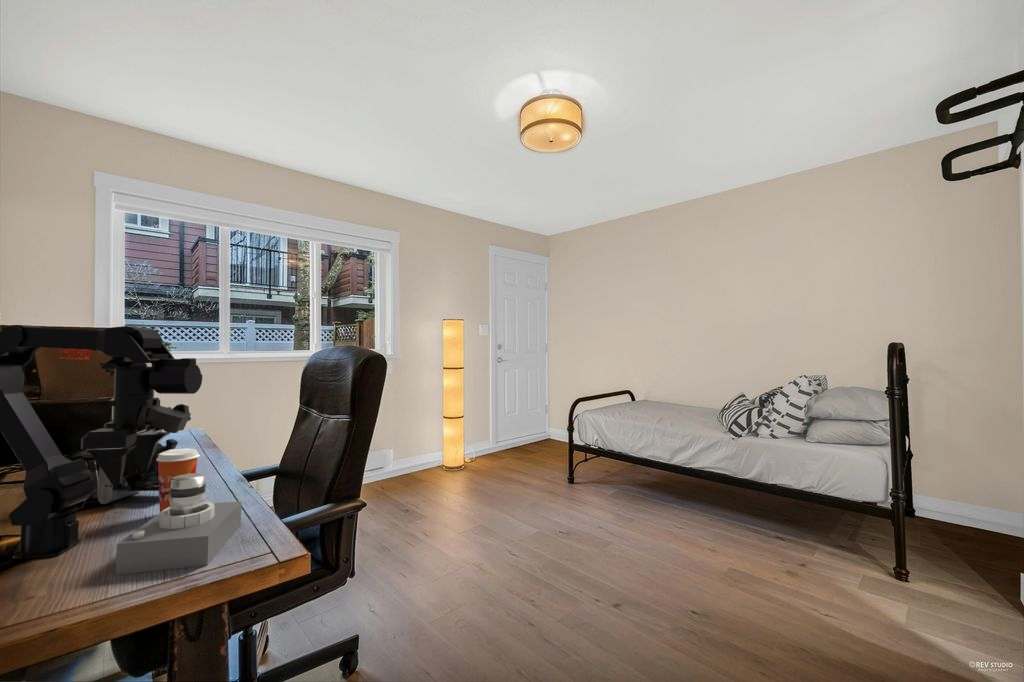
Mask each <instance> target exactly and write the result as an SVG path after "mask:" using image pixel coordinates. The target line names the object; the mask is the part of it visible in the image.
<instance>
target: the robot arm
mask: <svg viewBox="0 0 1024 682" xmlns="http://www.w3.org/2000/svg"><path fill="white" fill-rule="evenodd" d="M40 348H51V349H52V348H54V349H74V350H75V349H76V350H91V351H96V352H98V353H101V354H104V355H109V356H113V357H111V359H109V361H107V362H105V363H103V364H102V365H100V369H102V370H114V379H113V381H114V382H113V385H114V387H113V399H109V400H107V407H112V408H113V409H112V419H113V422H111V423H108V422H106V423H107V428H106V429H103V428H98V429H94V430H91V431H88V432H87V433H85V434H84V435H83V436H82V437H81V438H80V450H85V451H86V453H87V454H90V455H91V456H92V457H93V460H95V462H96V463H97V464H98V465H99V466H100V467H101V468H102V470H103V471H104V473H105V475H106V476H107V478H108V479H109V481H110V482H111V484H112V485H119V484H121V481H122V477H123V472H124V467H125V461H126V456H127V454H128V453H129V452H130V451H131V450H133V451H134V454H135V457H136V461H137V464H138V466H139V469H140V471H147V470H148V468H149V466H150V463H151V460H152V458H153V455H154V453H155V450H156V448H157V445H158V443H159V444H160V441H162V440H163V439H165V438H166V437H168V435H169V436H170V434H171V433H172V434H176V433H179V432H180V431H184V429H185V427H186V426H187V423H188V422H190V421H191V420H192V417H191V415H192V413H191V412H190V408H189V407H190V406H189V405H186V404H183V403H180V404H176V405H175V406H174V407H173V408H172V407H171V406H168V407H165V406H161V399H159V397H155V393H157V394H159V395H162V394H164V395H165V394H168V395H170V394H171V395H173V394H174V395H175V394H176V395H177V394H178V395H183V394H184V395H189V394H191V395H193V394H196V393H197V392H198V391H199V390H200V388H201V387H202V383H203V374H202V372H201V368H200V367H199V365H198V364H197V359H196V358H192V357H191V358H189V357H187V358H186V357H185V358H184V357H183V358H175V357H174V355H173V354H172V353H171V352H170V350H169V349H168V348H167V347H166V345H165V344H164V343H163V339H162V337H161V334H160V333H159V332H158V331H157V329H154V328H150V327H141V326H140V327H138V326H127V325H124V326H114V327H104V328H100V329H93V330H92V329H76V328H75V329H74V328H73V329H72V328H56V327H55V328H54V327H41V326H37V325H28V324H26V325H24V324H12V325H9V326H6V327H4V328H3V329H1V330H0V432H1V434H2V436H3V437H4V438H5V441H6V442H7V444H8V445H9V446H10V448H11V449H12V451H13V453H14V454H15V456H16V458H17V459H18V461H19V462H20V464H21V465H22V468H23V469H24V470H25V476H24V483H23V488H22V489H23V492H24V495H25V498H26V499H25V500H23V502H22V503H20V504H19V505H18V506H17V507H15V508H14V509H13V510H12V511H11V512H9V513H8V517H9V521H10V522H11V525H12V526H13V527H16V526H17V527H18V526H20V536H19V537H20V539H19V540H20V541H19V553H24V554H23V555H22V556H20V557H21V559H20V560H26V559H27V560H28V559H38V558H49V557H57V556H60V555H61V554H63V553H65V552H66V551H68V550H69V549H71V548H73V547H74V546H76V545H77V544H80V543H81V541H82V538H79V527H80V521H79V520H77V510H81V509H83V508H84V506H85V504H86V501H87V499H88V498H89V497H91V495H92V494H93V491H94V489H95V486H96V485H95V481H94V479H93V478H94V477H96V475H95V474H94V473H93V472H92V471H91V470H90V469H89V467H88V464H87V462H86V461H85V460H84V458H78V459H75V460H71V459H68V458H67V457H65V456H64V455H63V454H62V452H61V451H60V449H59V447H58V446H57V444H56V443H55V441H54V439H53V438H52V436H51V435H50V434H49V432H48V430H47V429H46V427H45V426H44V424H43V422H42V421H41V419H40V417H39V416H38V414H37V413H36V411H35V410H34V407H33V406H32V404H31V403H30V401H29V399H27V396H26V395H25V394H24V391H23V387H24V383H25V382H24V381H25V372H24V370H23V368H24V367H25V366H27V365H28V363H30V362H31V361H32V360H33V359H34V357H35V354H36V352H37V350H38V349H40ZM125 358H127V359H128V360H126V359H125ZM148 364H151V366H149V365H148ZM12 558H15V555H13V556H12V557H11V559H12Z"/></svg>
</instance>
